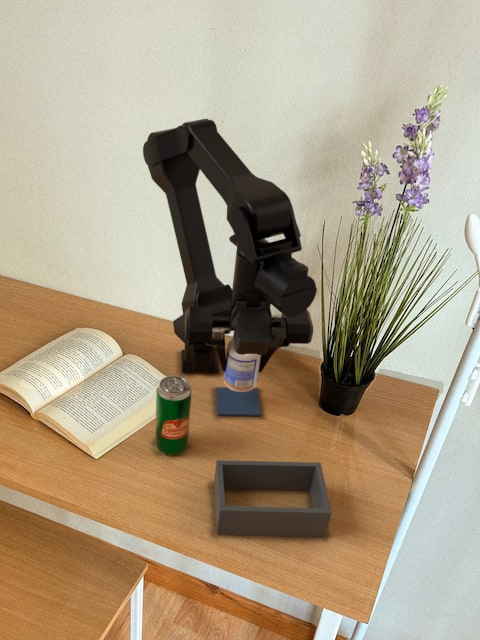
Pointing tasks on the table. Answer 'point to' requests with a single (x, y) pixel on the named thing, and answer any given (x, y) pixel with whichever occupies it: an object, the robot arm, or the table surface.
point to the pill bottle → (241, 369)
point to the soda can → (172, 415)
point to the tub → (271, 518)
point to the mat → (238, 403)
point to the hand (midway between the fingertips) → (241, 370)
